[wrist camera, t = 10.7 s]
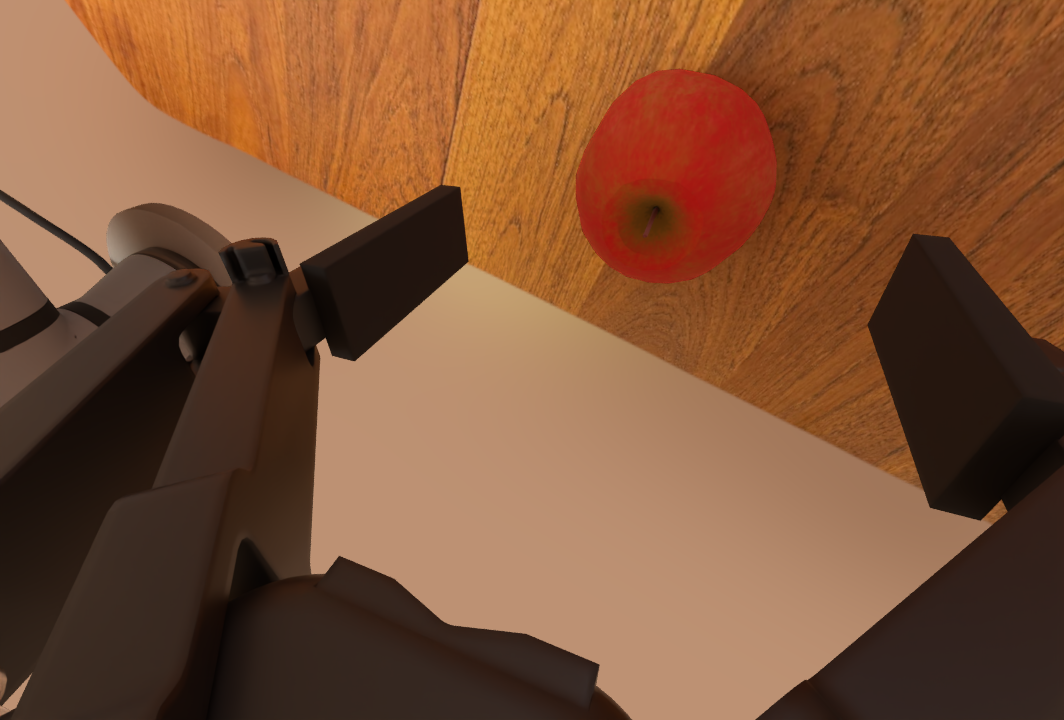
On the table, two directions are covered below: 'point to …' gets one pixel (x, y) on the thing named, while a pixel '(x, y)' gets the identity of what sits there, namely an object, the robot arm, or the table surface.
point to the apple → (675, 176)
